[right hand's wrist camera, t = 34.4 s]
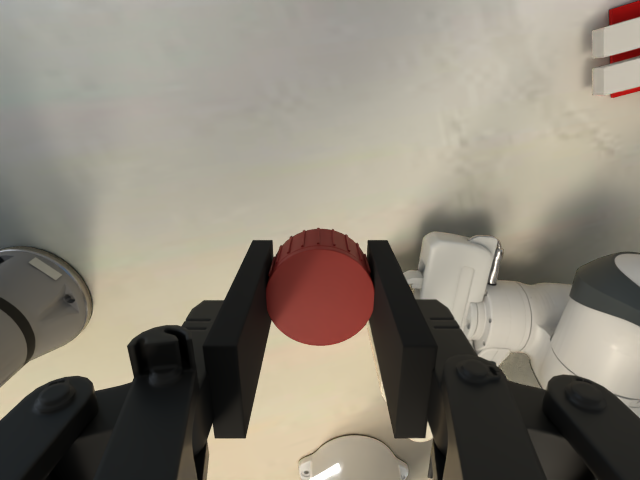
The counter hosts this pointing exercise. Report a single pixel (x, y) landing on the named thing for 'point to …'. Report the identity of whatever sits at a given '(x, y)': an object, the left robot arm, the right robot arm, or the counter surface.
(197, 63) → the counter surface
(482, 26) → the counter surface
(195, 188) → the counter surface
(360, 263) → the cap
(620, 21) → the toy
